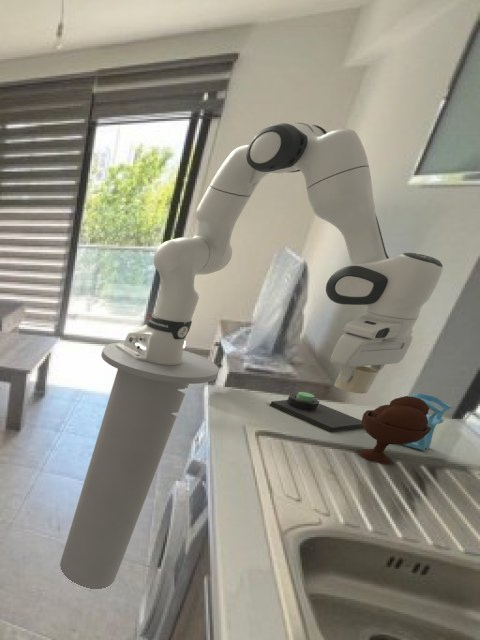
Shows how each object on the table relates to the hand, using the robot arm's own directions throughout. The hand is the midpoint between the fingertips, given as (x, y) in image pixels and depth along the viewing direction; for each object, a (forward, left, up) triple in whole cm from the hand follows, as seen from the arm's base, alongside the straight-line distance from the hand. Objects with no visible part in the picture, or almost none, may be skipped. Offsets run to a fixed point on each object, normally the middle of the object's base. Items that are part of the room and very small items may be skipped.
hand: (355, 380), depth 120 cm
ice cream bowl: (+16, -10, -12) cm, 22 cm away
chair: (+12, +7, -12) cm, 18 cm away
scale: (-4, 0, -12) cm, 12 cm away
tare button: (-9, 0, -9) cm, 13 cm away
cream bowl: (0, 0, -2) cm, 2 cm away
